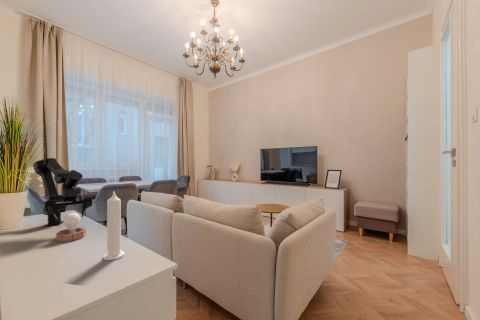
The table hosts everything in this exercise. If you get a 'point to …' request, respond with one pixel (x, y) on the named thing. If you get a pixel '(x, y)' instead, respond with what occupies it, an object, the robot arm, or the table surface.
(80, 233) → the holder
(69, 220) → the lightbulb
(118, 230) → the candle
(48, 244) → the table surface
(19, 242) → the table surface
